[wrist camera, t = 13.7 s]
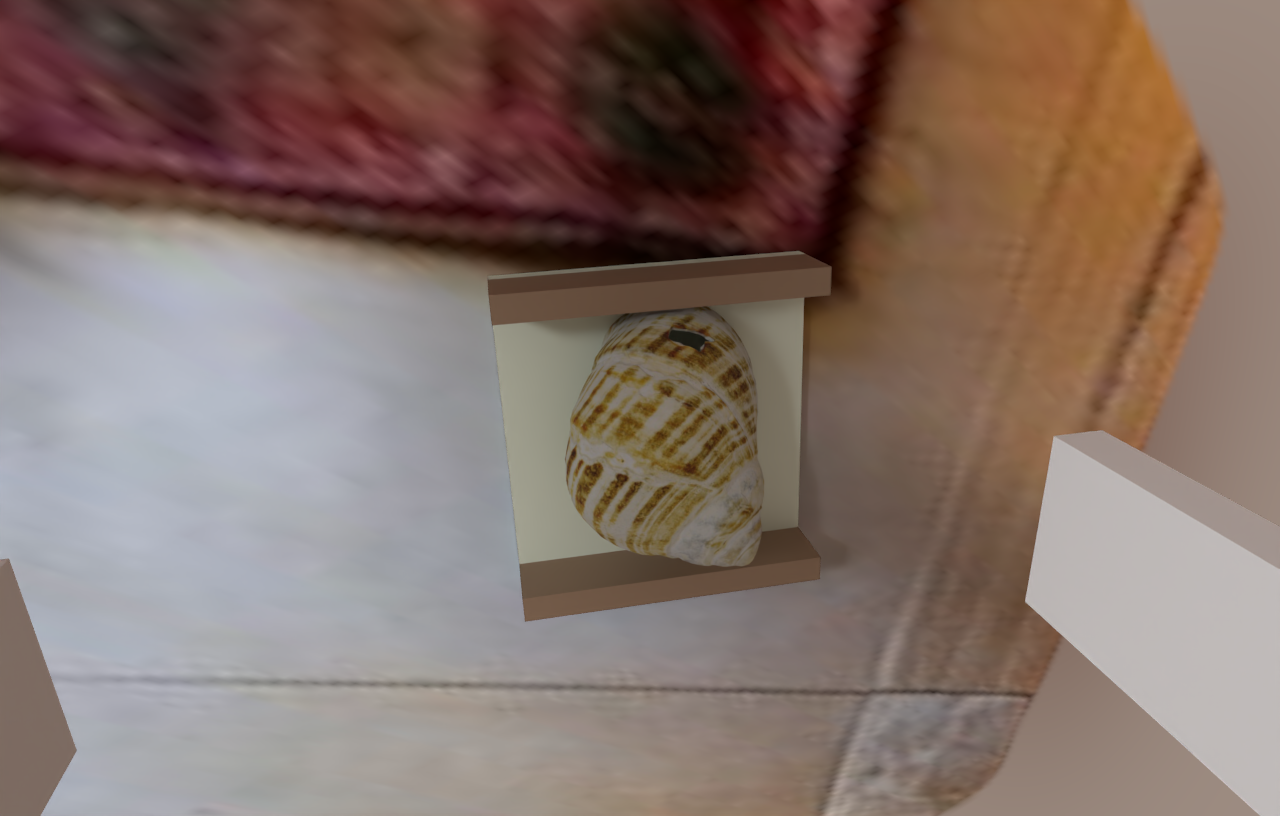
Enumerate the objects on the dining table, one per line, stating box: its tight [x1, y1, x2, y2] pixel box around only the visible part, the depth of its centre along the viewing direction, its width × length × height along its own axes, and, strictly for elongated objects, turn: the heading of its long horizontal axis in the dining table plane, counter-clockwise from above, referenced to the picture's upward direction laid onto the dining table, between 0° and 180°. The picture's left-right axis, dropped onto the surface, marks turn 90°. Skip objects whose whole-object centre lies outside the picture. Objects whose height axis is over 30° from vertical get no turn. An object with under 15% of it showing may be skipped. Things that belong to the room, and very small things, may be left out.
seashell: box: [565, 306, 764, 567], centre depth 36 cm, size 10×10×10 cm
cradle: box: [488, 251, 832, 621], centre depth 38 cm, size 14×15×4 cm
